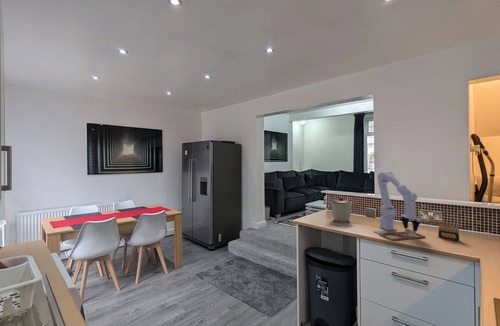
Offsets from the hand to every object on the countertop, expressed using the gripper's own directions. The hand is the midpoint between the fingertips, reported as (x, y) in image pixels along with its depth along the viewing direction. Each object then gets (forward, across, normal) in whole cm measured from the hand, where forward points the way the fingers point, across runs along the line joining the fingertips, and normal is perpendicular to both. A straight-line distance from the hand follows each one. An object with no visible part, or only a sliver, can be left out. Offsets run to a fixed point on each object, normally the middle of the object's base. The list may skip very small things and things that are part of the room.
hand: (410, 229), depth 165 cm
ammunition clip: (+5, +11, +19) cm, 22 cm away
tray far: (+4, 0, 0) cm, 4 cm away
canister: (+4, -50, -22) cm, 55 cm away
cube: (+5, 0, 0) cm, 5 cm away
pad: (+4, -11, -13) cm, 17 cm away
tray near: (+4, 0, -14) cm, 15 cm away
